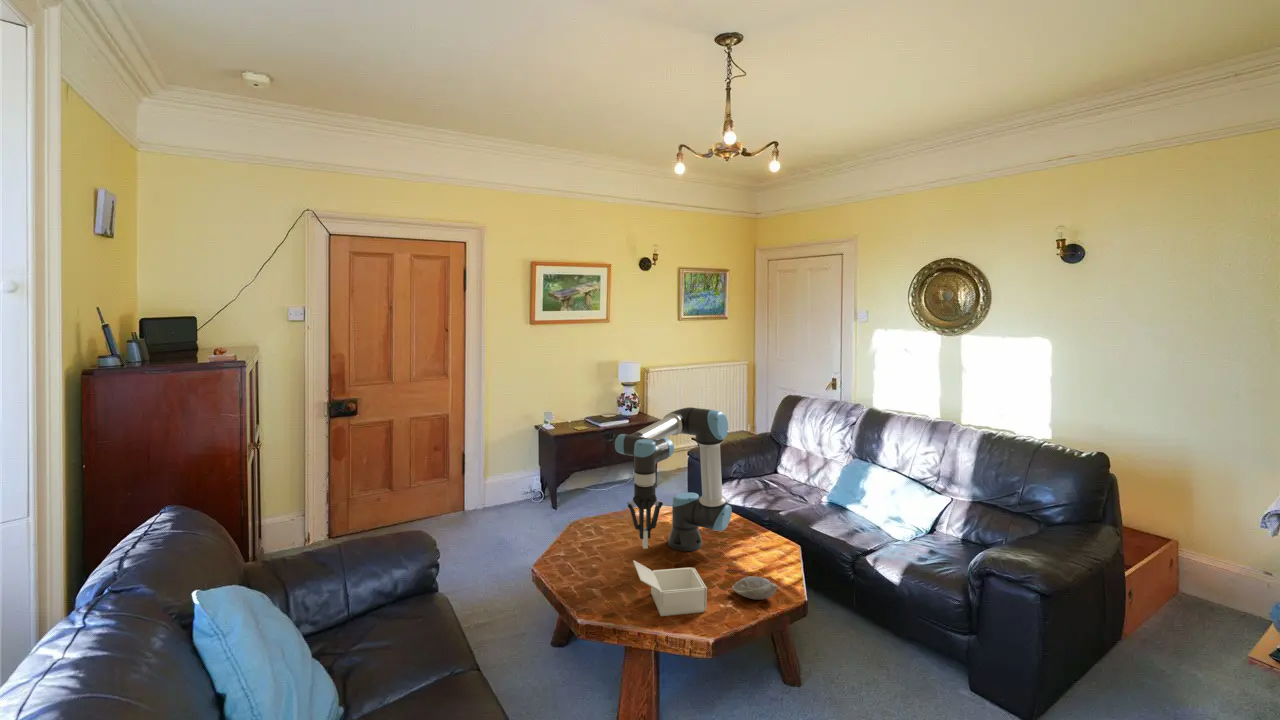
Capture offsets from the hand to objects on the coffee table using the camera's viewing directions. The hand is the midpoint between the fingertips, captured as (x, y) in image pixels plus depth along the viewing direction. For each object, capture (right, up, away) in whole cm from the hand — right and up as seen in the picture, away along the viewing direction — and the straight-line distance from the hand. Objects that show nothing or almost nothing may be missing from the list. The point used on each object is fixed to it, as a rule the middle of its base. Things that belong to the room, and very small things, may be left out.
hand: (644, 546), depth 214 cm
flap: (0, -10, +1) cm, 10 cm away
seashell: (+40, -22, +9) cm, 47 cm away
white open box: (+12, -22, +4) cm, 25 cm away
